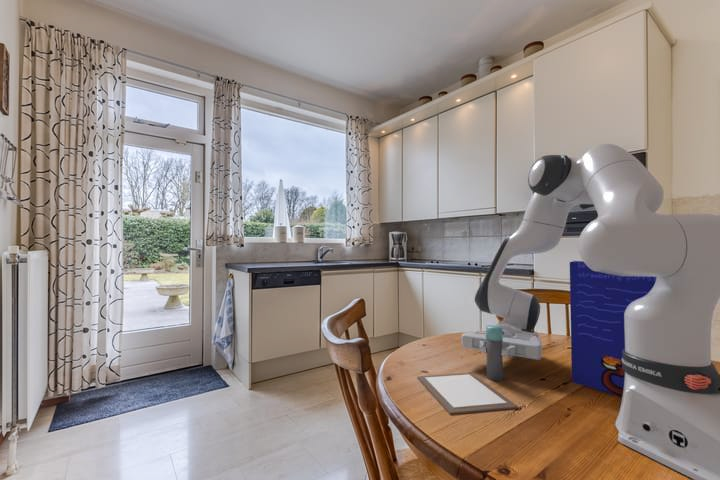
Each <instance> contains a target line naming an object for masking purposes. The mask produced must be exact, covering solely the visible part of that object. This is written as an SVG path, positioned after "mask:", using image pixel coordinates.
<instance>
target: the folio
mask: <svg viewBox="0 0 720 480" xmlns="http://www.w3.org/2000/svg"><path fill="white" fill-rule="evenodd" d="M416 379H417V380H418V381H419V382H420V383H421V384H422V385H423V386H424V387H425V388H426V390H427V391H428V392H429V393H430V394H431V396H433V397H434V399H435V400H436V401H437V402H439V404H440V405H441V406H442V407H443V408H444V409H445V411H446V412H447V413H448V414H449V415H458V414H459V415H460V414H470V413H479V412H480V413H481V412H491V411H493V412H494V411H501V410H502V411H503V410H510V409H513V410H514V409H519V406H518V405H517V404H515V403H514V402H513V401H511V400H510V398H507V397H506V396H504V395H503V394H501V393H500V392H499V391H497V389H495V388H493V387H492V386H491V385H489V384H488V383H486V382H485V381H484V380H482V379H481V378H479V377H478V376H477V375H475V373H473V372H463V373H462V372H461V373H448V374H447V373H446V374H434V375H433V374H432V375H421V376H419V375H417V378H416Z"/></svg>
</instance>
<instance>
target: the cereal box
mask: <svg viewBox="0 0 720 480" xmlns="http://www.w3.org/2000/svg"><path fill="white" fill-rule="evenodd" d="M655 281H656V277H637V276H618V275H612V274H606V273H601V272H596V271H593V270H591V269H590V268H589V267H588V266H587V265H586V264H585V263H584V262H583V260H572V261H569V296H570V297H569V298H570V299H569V303H570V305H569V307H570V348H571V350H570V351H571V352H570V356H571V383H573V384H574V383H575V384H578V385H581V386H583V387H588V388H591V389H594V390H598V391H601V392H605V393H608V394H612V395H615V396H618V397H621V398H622V397H623V390H624V379H625V372H624V370H623V369H622V350H623V349H625V330H624V313H625V310H626V308H627V307H628V305H629V304H630V303H632V302H633V301H635V300H637V299H639V298H642V297H644V296H645V295H647V294H648V293H649V292H650V291H651V289H652V288H653V286H654V284H655Z"/></svg>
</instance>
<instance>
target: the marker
mask: <svg viewBox="0 0 720 480" xmlns="http://www.w3.org/2000/svg"><path fill="white" fill-rule="evenodd" d="M496 325H497V324H496ZM496 325H493V324H488V325H485V332H486V353H485V355H486V378H487V379H488V380H490V381H494V382H500V381H501V382H502V381H503V380H504V379H503V378H504V377H503V375H504V374H503V372H504V370H503V369H504V368H503V356H502V355H501V353H502V352H501V349H502V340H503V328H502V327H501V326H496Z"/></svg>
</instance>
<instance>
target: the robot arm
mask: <svg viewBox="0 0 720 480" xmlns="http://www.w3.org/2000/svg"><path fill="white" fill-rule="evenodd" d="M530 167H531V168H530V170H529V172H528V178H527V179H528V180H527V183H528V186H529V189H530V190H531V191H532V192H533V193H532V195H531V198H530V200H529V202H528V204H527V207H526V209H525V212H524V214H523V217H522V220H521V223H520V226H519V227H518V228H517V229H516V230H515V232H514V233H511V234H508V235H506V237H505V238H504V239H503V241H502V242H501V244H500V246H499V248H498V250H497V251H496V254H495V256H494V257H493V260H492V261H491V263H490V266H489V268H488V270H487V272H486V274H485V276H484V278H483V280H482V281H481V284H480V285H479V287H478V288H477V290H476V291H475V294H474V295H475V296H474V303H475V304H476V306H477V308H478V309H479V311H480V312H483V313H487V314H491V315H495V316H497V317H500V318H502V320H501V321H500V322H498V323H497V324H496V326H501V327H502V328H503V340H502V349H501V352H502V353H501V355H502V357H505V358H508V357H519V358H523V359H530V360H537V361H539V360H541V359H542V357H543V355H542V353H543V350H542V349H543V348H542V339H541V338H540V336H539V333H538V332H537V331H535V330H534V329H535V327H536V325H537V323H538V321H539V317H540V315H541V314H540V313H541V304H540V301H539V300H538V298H537V297H536V296H535V294H532V293H529V292H526V291H523V290H519V289H516V288H512V287H509V286H506V285H503V284H501V283H500V280H501V277H502V276H503V274H504V271H505V270H506V268H507V265H508V264H509V262H510V261H511V259H513V258H515V257H517V256H522V255H534V254H542V253H543V254H544V253H547V252H550V251H551V250H553V249H555V247H557V246H558V245H559V243H560V241H561V239H562V237H563V233H564V231H565V227H566V225H567V221H568V216H569V214H570V211H571V210H572V209H573V208H574V207H576V206H579V207H580V208H581V209H582V210H587V209H589V208H595V210H596V212H597V217H596V218H595V219H593V220H592V221H590V222H589V223H588V224H587V225H586V226H585V227H584V228H583V230H582V231H581V233H580V235H579V238H578V244H577V247H578V254H579V256H580V258H581V261H583V262H584V263H585V264H586V265H587V266H588V267H589V268H590V269H591V270H593V271H596V272H601V273H606V274H612V275H618V276H637V277H656V281H655V284H654V286H653V288H652V289H651V291H650V292H649V293H648V294H647V295H645V296H644V297H642V298H639V299H637V300H635V301H633V302H632V303H630V304H629V305H628V307H627V308H626V310H625V313H624V330H625V349H623V350H622V369H623V370H624V372H625V379H624V390H623V397H622V396H621V404H620V407H619V412H618V414H617V415H618V416H617V417H616V420H615V422H614V423H615V427H616V429H617V430H618V433H617V434H618V435H617V441H618V442H619V443H620V444H622V445H624V446H625V447H628V448H630V449H632V450H634V451H636V452H638V453H640V454H643V455H645V456H646V457H649V458H650V459H652V460H655V461H656V462H658V463H660V464H662V465H664V466H666V467H669V468H670V469H672V470H674V471H676V472H679V473H681V474H683V475H685V476H687V477H689V478H690V479H692V480H720V373H719V371H718V369H717V367H716V366H715V364H714V363H713V362H712V359H711V358H712V357H711V355H712V351H711V349H712V348H711V346H712V345H711V344H712V342H711V341H712V324H713V323H712V322H713V321H712V320H713V317H714V316H713V315H714V313H715V310H716V308H717V307H716V306H717V304H718V302H719V300H720V215H717V214H709V213H695V214H692V213H691V214H690V213H689V214H661V213H657V211H658V210H659V209H660V208H661V207H662V204H663V202H664V197H665V196H664V194H665V193H664V187H663V185H661V183H660V182H659V180H657V179H656V178H655V177H654V175H652V173H651V172H650V171H649V170H648V168H646V166H645V165H644V164H643V163H642V162H641V161H640V160H639V159H638V158H637V157H635V156H634V155H633V154H631V153H630V152H629V151H627V150H626V149H624V148H623V147H620V146H619V145H616V144H613V143H603V144H599V145H595V146H593V147H592V148H590V149H589V150H587V151H586V152H585V153H584V154H583V155H582V156H581V157H580V158H576V157H571V156H568V155H564V154H563V155H561V154H549V155H548V154H547V155H543V156H540V157H539V158H538V159H537V160H536V161H534V163H533V164H532V166H530ZM533 330H534V331H533ZM460 338H461V339H460V340H461V341H460V344H461V346H462V347H463V348H465V349H471V350H476V351H480V353H483V354H484V353H485V354H486V331H480V330H478V331H477V330H469V331H466V332H463V333H462V334H461V336H460Z"/></svg>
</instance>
